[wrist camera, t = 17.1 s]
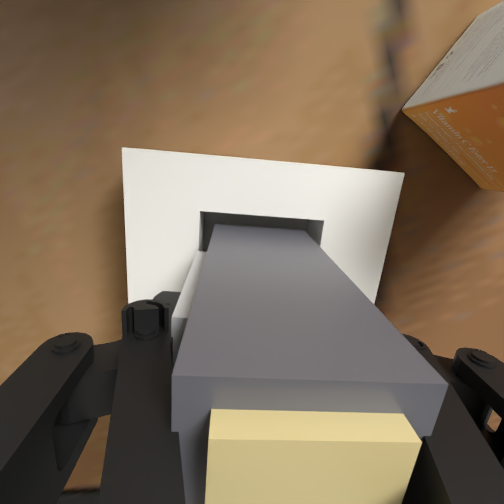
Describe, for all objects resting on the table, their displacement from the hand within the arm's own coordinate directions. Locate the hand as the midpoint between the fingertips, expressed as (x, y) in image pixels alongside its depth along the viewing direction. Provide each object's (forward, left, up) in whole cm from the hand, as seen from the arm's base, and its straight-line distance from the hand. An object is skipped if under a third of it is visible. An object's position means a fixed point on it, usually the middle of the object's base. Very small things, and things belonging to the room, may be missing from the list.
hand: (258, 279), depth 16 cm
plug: (0, 0, -2) cm, 2 cm away
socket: (+4, 0, -5) cm, 6 cm away
